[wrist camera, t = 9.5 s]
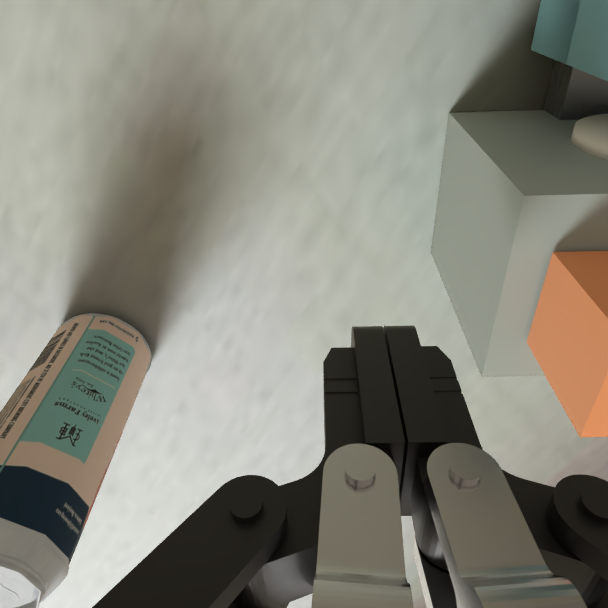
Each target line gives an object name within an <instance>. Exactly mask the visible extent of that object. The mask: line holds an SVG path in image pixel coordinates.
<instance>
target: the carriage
mask: <svg viewBox="0 0 608 608" xmlns="http://www.w3.org/2000/svg"><path fill="white" fill-rule="evenodd" d="M531 50H532V51H534V52H537V53H539V54H542V55H544V56H547V57H549V58H552V59H554V60H557V61H559V62H562V63H564V64H567V65H569V66H571V67H574V68H576V69H579V70H581V71H584V72H586V73H589V74H591V75H594V76H596V77H599V78H601V79H603V80H606V81H608V0H541V3H540V8H539V12H538V17H537V22H536V27H535V32H534V37H533V41H532V46H531Z"/></svg>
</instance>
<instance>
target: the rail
mask: <svg viewBox="0 0 608 608" xmlns="http://www.w3.org/2000/svg"><path fill="white" fill-rule="evenodd" d="M543 110H544V111H546V112H547V113H549V114H551V115H552V116H554V117H555V118H557V119H558V120H580V119H582V118H585V117H588V116H593V115H599V114H608V81H606V80H603V79H601V78H599V77H596V76H594V75H591V74H589V73H586V72H584V71H581V70H579V69H576V68H574V67H571V66H569V65H567V64H564V63H562V62H559V61H557V60H555V61H554V66H553V70H552V74H551V79H550V83H549V87H548V91H547V96H546V100H545V104H544V109H543Z"/></svg>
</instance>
